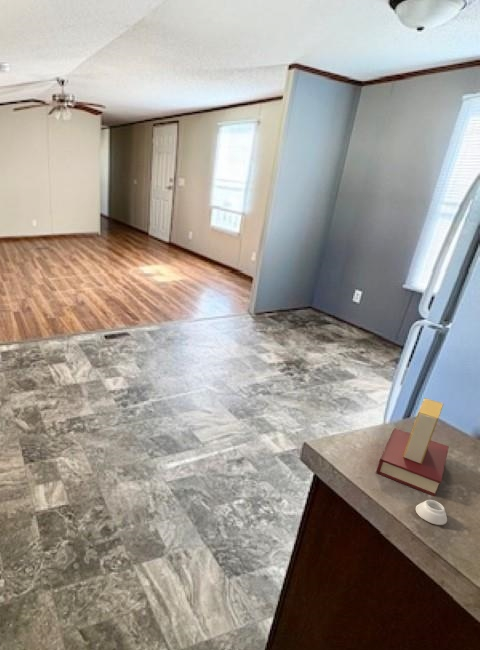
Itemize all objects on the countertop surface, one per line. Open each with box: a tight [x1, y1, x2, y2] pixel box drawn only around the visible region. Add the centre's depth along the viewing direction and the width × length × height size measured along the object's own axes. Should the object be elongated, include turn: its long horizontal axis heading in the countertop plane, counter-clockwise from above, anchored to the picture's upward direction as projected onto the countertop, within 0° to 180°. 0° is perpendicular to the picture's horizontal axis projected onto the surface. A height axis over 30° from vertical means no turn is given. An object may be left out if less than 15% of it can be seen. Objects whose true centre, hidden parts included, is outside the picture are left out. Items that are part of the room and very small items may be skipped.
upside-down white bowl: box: [415, 499, 448, 526], centre depth 84 cm, size 5×3×5 cm
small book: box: [403, 397, 444, 464], centre depth 95 cm, size 4×8×12 cm, turn 137°
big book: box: [375, 427, 450, 497], centre depth 98 cm, size 16×11×4 cm
